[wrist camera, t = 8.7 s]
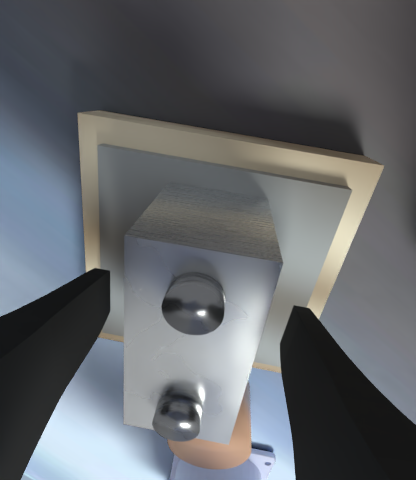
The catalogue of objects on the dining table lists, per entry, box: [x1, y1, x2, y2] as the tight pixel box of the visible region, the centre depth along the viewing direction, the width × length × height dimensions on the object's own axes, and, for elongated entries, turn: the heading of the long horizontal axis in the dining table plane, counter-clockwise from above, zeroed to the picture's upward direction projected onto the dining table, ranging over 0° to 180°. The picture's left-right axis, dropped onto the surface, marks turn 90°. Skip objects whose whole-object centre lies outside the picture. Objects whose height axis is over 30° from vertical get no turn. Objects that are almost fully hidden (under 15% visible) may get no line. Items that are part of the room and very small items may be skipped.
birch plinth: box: [78, 110, 384, 373], centre depth 15 cm, size 12×12×2 cm
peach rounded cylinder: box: [167, 382, 251, 469], centre depth 19 cm, size 5×5×4 cm
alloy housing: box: [123, 182, 283, 445], centre depth 11 cm, size 8×4×6 cm, turn 172°
